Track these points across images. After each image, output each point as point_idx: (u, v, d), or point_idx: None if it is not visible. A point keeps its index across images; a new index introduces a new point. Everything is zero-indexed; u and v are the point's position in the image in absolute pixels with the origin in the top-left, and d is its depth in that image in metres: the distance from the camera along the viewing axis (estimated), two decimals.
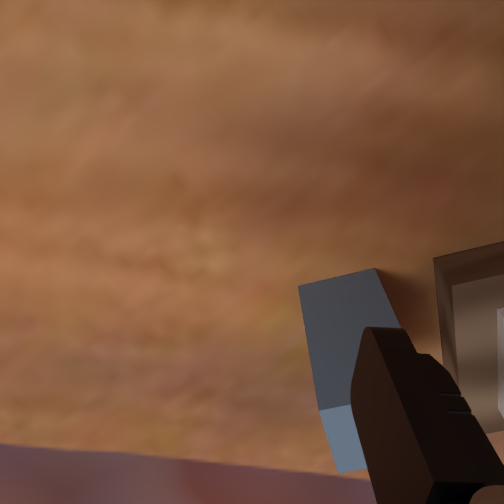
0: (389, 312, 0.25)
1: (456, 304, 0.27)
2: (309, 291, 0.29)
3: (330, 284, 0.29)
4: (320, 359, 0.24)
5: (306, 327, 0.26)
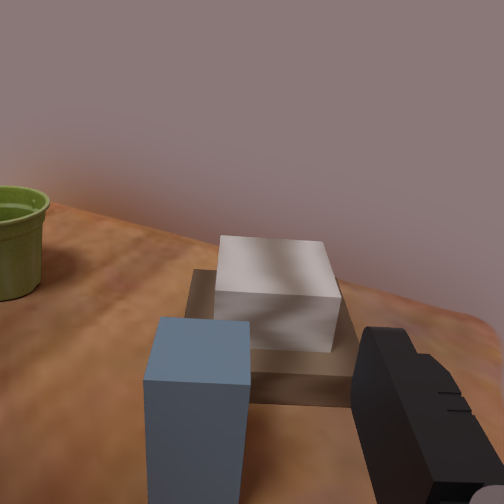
0: None
1: None
2: None
3: None
4: None
5: (147, 463, 0.24)
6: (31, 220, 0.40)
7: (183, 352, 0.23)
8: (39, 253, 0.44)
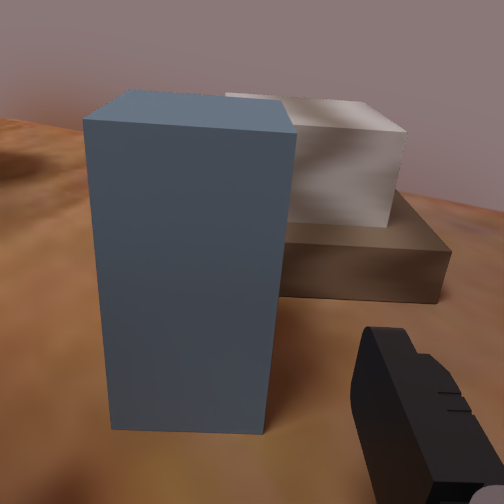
0: None
1: None
2: None
3: None
4: None
5: (102, 324, 0.13)
6: None
7: (166, 108, 0.13)
8: None
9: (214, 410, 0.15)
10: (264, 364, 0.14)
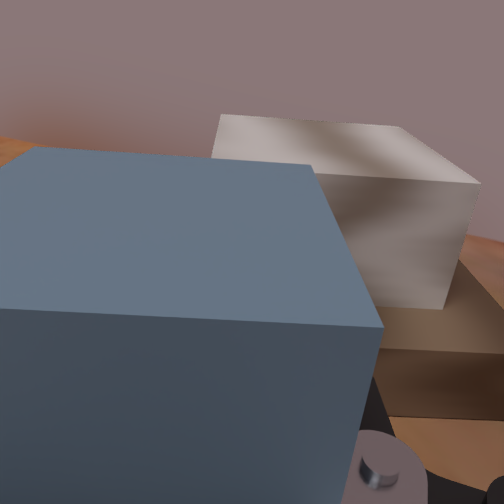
0: None
1: None
2: None
3: None
4: None
5: None
6: None
7: (73, 213, 0.06)
8: None
9: None
10: None
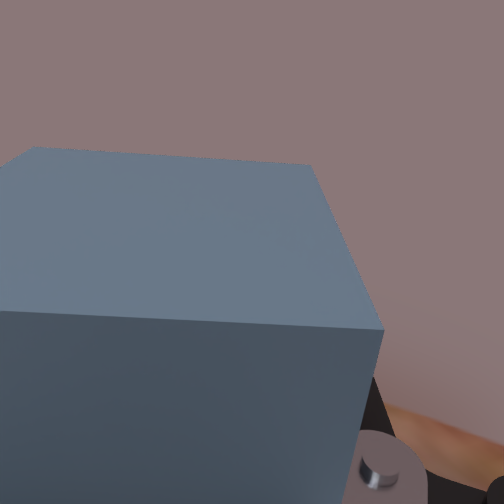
0: None
1: None
2: None
3: None
4: None
5: None
6: None
7: (70, 214, 0.06)
8: None
9: None
10: None
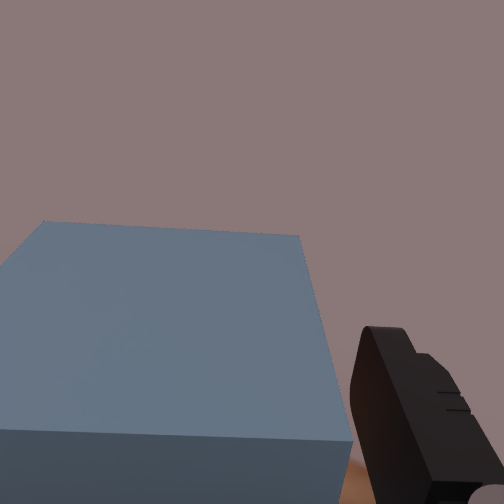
0: None
1: None
2: None
3: None
4: None
5: None
6: None
7: (82, 310, 0.06)
8: None
9: None
10: None
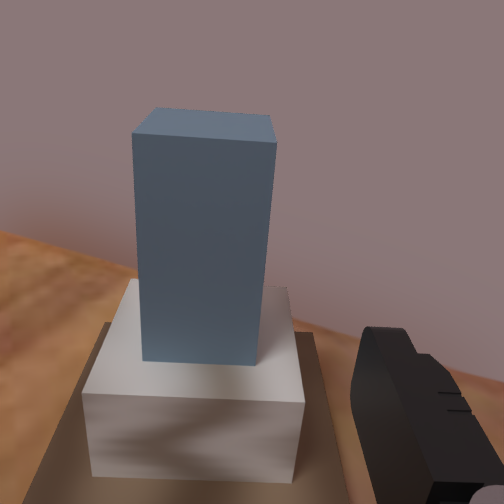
0: None
1: None
2: None
3: None
4: None
5: (139, 279, 0.18)
6: None
7: (186, 123, 0.18)
8: None
9: (219, 346, 0.20)
10: (256, 310, 0.19)
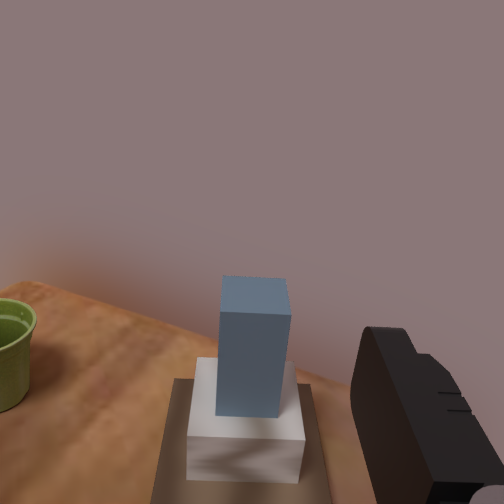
0: None
1: None
2: None
3: None
4: None
5: (217, 375, 0.35)
6: (18, 344, 0.43)
7: (243, 296, 0.34)
8: (27, 366, 0.46)
9: (258, 408, 0.36)
10: (278, 390, 0.35)
